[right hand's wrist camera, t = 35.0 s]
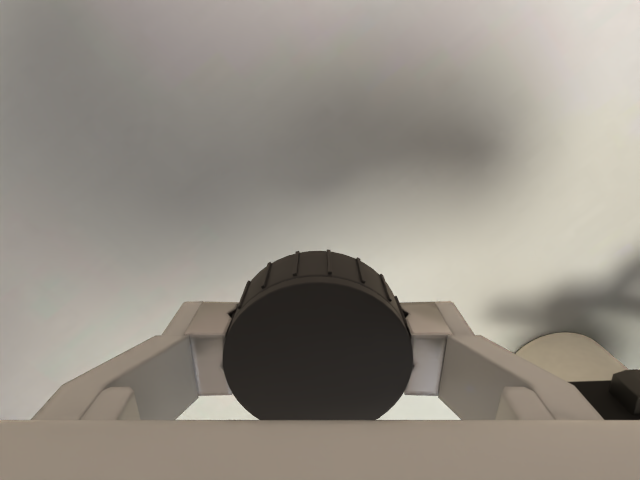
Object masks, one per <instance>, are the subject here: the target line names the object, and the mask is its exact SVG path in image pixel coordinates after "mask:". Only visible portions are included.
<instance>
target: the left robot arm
mask: <svg viewBox="0 0 640 480" xmlns="http://www.w3.org/2000/svg"><path fill="white" fill-rule="evenodd" d="M568 383H570V384H572V385H574V386H575V387H576V388H577V389H578V391H579V392H580V393H581V394H582V395H583V396H584V397H585V398H586V400H587V401H588V402H589V403H590V404H591V405H592V406H593V408H594V409H595V410H596V411H597V412H598V413H599V414H600V416H601V417H602V418H603V419H604V420H640V370H624V371H621V372H618V373H615V374H613V376H612V380H605V381H576V382H568Z"/></svg>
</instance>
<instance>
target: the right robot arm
mask: <svg viewBox="0 0 640 480" xmlns="http://www.w3.org/2000/svg"><path fill="white" fill-rule="evenodd" d="M238 305H239V302H203V301H193V302H184V303H183V304H182V306H181V307H180V309H179V310H178V311H177V313H176V314H175V316H174V317H173V319H172V320H171V322H170V323H169V325H168V326H167V328H166V329H165V331H164V332H163V334H162V335H156V336H154V337H152V338H150V339H148V340H146V341H144V342H142V343H141V344H139V345H137V346H135V347H133V348H131V349H129V350H127V351H125V352H124V353H122V354H120V355H118V356H116V357H114V358H112V359H110V360H108V361H107V362H105V363H103V364H101V365H99V366H97V367H95V368H93V369H92V370H90V371H88V372H86V373H84V374H82V375H80V376H78V377H76V378H75V379H73V380H71V381H69V382H67V383H65V384H63V385H62V386H61V387H60V388H59V389H58V390H57V391H56V392H55V394H54V395H53V396H52V397H51V398H50V399H49V400H48V401H47V402H46V404H45V405H44V406H43V407H42V408H41V409H40V410H39V411H38V412H37V414H36V415H35V416H34V417H33V418H32V419H31V420H0V480H640V420H604V419H603V418H602V417H601V416H600V414H599V413H598V412H597V411H596V410H595V409H594V408H593V406H592V405H591V404H590V403H589V402H588V401H587V400H586V398H585V397H584V396H583V395H582V394H581V393H580V392H579V391H578V389H577V388H576V387H575V386H574V385H572V384H570V383H568V382H566V381H565V380H563V379H561V378H559V377H557V376H555V375H553V374H552V373H550V372H548V371H546V370H544V369H542V368H540V367H539V366H537V365H535V364H533V363H531V362H529V361H527V360H526V359H524V358H522V357H520V356H518V355H516V354H514V353H512V352H511V351H509V350H507V349H505V348H503V347H501V346H499V345H498V344H496V343H494V342H492V341H490V340H488V339H486V338H485V337H483V336H481V335H474V333H473V332H472V330H471V329H470V327H469V326H468V324H467V323H466V321H465V320H464V318H463V317H462V315H461V314H460V312H459V311H458V309H457V308H456V306H455V305H454V303H453V302H451V301H443V302H406V303H400V306H401V308H402V311H403V314H404V316H405V319H406V321H407V324H408V325H407V326H406V329H407V331H408V334H409V336H410V340H411V344H412V348H413V369H412V373H411V377H410V380H409V382H408V385H407V387H406V389H405V391H404V394H405V395H428V396H438V398H439V399H440V400H442V401H443V402H444V403H445V404H446V405H447V406H448V407H449V408H450V409H451V410H452V411H453V412H454V413H455V414H456V415H457V416H458V417H459V418H460V419H461V420H175V419H176V418H177V417H178V416H180V415H181V414H182V413H183V412H184V411H185V410H186V409H187V408H188V407H189V406H190V405H191V404H192V403H193V402H194V401H195V400H196V399H198V396H208V395H232V392H231V390H230V388H229V386H228V384H227V381H226V378H225V375H224V369H223V348H224V343H225V340H226V337H227V334H228V331H229V328H230V326H231V323H232V319H231V317H232V314H233V313H234V312H236V310H237V307H238Z"/></svg>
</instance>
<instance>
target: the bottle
mask: <svg viewBox="0 0 640 480" xmlns="http://www.w3.org/2000/svg"><path fill="white" fill-rule="evenodd" d="M516 355H518V356H520V357H522V358H524V359H526V360H527V361H529V362H531V363H533V364H535V365H537V366H539V367H540V368H542V369H544V370H546V371H548V372H550V373H552V374H553V375H555V376H557V377H559V378H561V379H563V380H565V381H566V382H576V381H605V380H612V376H613V374H615V373H618V372H621V371H624V370H629V369H628V368H627V367H625V366H624V365H623V364H622V363H621V362H619V361H618V360H617V359H616V358H615V357H614V356H612V355H611V354H610V353H609V352H608V351H606V350H605V349H604V348H603V347H602V346H601V345H599V344H598V343H597V342H596V341H594V340H593V339H591V338H589V337H587V336H584V335H581V334H577V333H570V332H561V333H553V334H549V335H545V336H542V337H539V338H537V339H535V340H533V341H531V342H529V343H528V344H526V345H525V346H523V347H522V348H521V349H520V350H519V351H517V352H516Z"/></svg>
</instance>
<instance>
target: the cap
mask: <svg viewBox="0 0 640 480" xmlns="http://www.w3.org/2000/svg"><path fill="white" fill-rule="evenodd" d="M231 319H232V323H231V326H230V328H229V331H228V334H227V337H226V340H225V343H224V348H223V369H224V375H225V378H226V381H227V384H228V386H229V388H230V390H231V392H232V393H233V395H234V396H235V398H236V399H237V400H238V402H239V403H240V404H241V405H242V406H243V407H244V408H245V409H246V410H247V411H248V412H250V413H251V414H252V415H253V416H255V417H256V418H258V419H259V420H376V419H378V418H379V417H381V416H382V415H383V414H385V413H386V412H387V411H388V410H389V409H390V408H391V407H393V406H394V405H395V403H396V402H397V401H398V400H399V398H400V397H401V396H402V394H403V392H404V391H405V389H406V387H407V385H408V382H409V380H410V377H411V373H412V369H413V348H412V344H411V340H410V336H409V334H408V331H407V329H406V326H407V325H408V324H407V321H406V319H405V316H404V314H403V311H402V308H401V306H400V303H399V301H398V298H397V296H394V295H393V293H392V291H391V289H390V288H389V286H388V284H387V283H386V282H385V279H384V277H383V275H382V274H380V275H379V274H378V273H377V272H376V271H375V270H373V269H372V268H371V267H369V266H368V265H366V264H365V263H363V262H361V261H360V259H359V258H356V259H355V258H352V257H349V256H347V255H344V254H339V253H335V252H330V250H327V251H308V252H302V253H299V251H297V252H296V254H293V255H289V256H286V257H284V258H281V259H279V260H277V261H275V262H273V263H271V262H269V263H268V264H267V267H265V268H264V269H263V270H262V271H260V272H259V273H258V274H257V275H256V276H255V277H254V278H253V279H252V280H251V282H250V281H248V282H247V284H246V287H245V289H244V292H243V295H242V297H241V299H240V302H239V305H238V307H237V310H236V312H234V313H233V314H232V317H231Z"/></svg>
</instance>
